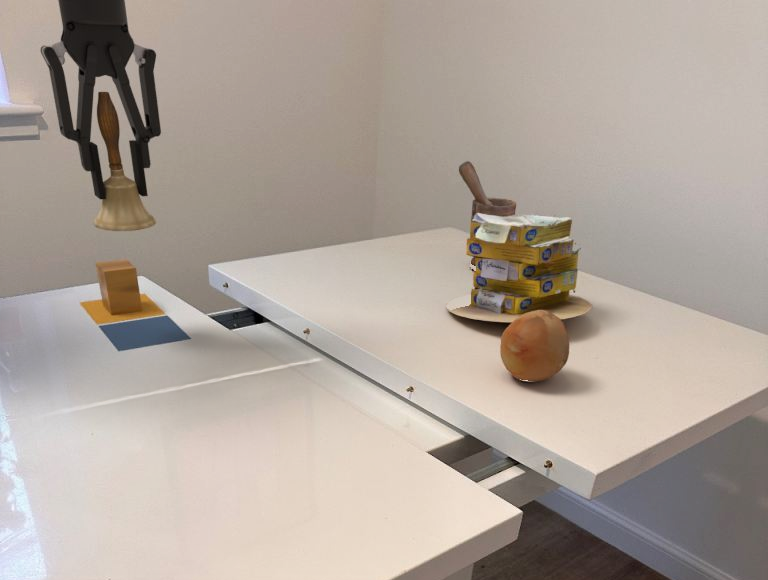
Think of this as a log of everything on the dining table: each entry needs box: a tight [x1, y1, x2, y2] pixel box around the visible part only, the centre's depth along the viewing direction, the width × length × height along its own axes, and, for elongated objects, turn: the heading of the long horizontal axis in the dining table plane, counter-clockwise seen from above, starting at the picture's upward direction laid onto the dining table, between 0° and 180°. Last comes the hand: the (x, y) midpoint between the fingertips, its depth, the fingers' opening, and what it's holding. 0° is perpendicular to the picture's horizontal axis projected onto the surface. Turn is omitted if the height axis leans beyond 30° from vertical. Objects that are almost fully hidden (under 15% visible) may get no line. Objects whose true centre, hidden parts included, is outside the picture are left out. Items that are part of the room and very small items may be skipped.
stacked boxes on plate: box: [447, 211, 593, 323], centre depth 122 cm, size 25×25×17 cm
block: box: [95, 258, 142, 315], centre depth 116 cm, size 5×5×7 cm
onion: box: [499, 310, 570, 382], centre depth 102 cm, size 10×10×10 cm
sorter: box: [79, 293, 192, 352], centre depth 114 cm, size 23×11×1 cm, turn 33°
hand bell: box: [93, 91, 157, 232], centre depth 96 cm, size 8×8×16 cm
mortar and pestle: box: [458, 160, 517, 266], centre depth 142 cm, size 12×9×20 cm
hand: (121, 195), depth 98 cm, fingers closed on hand bell, 5 cm apart
